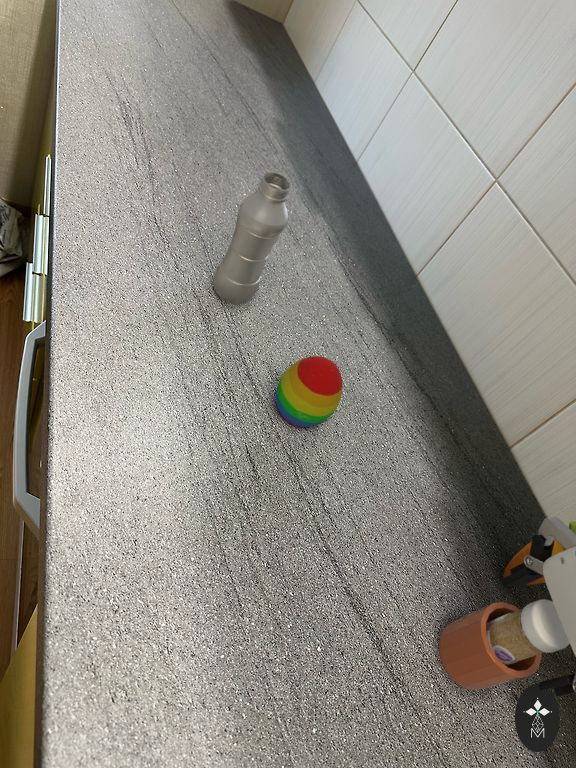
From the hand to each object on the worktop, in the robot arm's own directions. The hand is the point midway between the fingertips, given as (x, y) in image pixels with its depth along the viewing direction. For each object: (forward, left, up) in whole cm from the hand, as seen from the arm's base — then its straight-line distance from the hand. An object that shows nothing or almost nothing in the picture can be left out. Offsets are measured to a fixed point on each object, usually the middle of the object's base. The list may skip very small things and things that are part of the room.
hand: (530, 631), depth 57 cm
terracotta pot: (0, 0, -11) cm, 11 cm away
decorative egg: (+15, -32, -11) cm, 37 cm away
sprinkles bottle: (0, 0, -10) cm, 10 cm away
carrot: (-9, -8, -11) cm, 17 cm away
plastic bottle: (+22, -52, -11) cm, 58 cm away
